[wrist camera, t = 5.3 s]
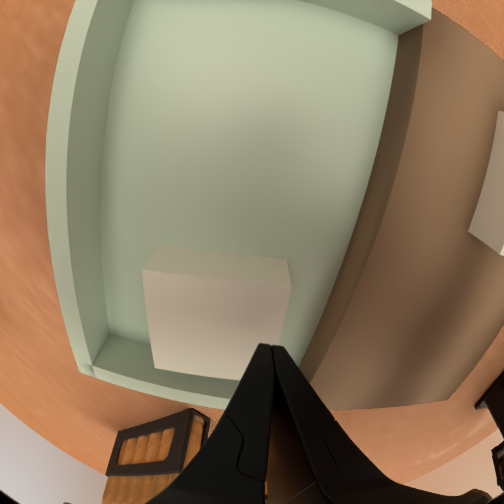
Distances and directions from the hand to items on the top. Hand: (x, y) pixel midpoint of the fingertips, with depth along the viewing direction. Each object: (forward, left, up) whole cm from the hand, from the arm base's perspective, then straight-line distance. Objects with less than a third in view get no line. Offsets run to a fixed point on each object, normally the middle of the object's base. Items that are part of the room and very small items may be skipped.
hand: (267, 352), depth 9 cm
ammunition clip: (+5, +15, -4) cm, 16 cm away
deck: (-8, -4, -4) cm, 10 cm away
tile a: (+2, +1, -3) cm, 4 cm away
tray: (+3, -4, -4) cm, 6 cm away
